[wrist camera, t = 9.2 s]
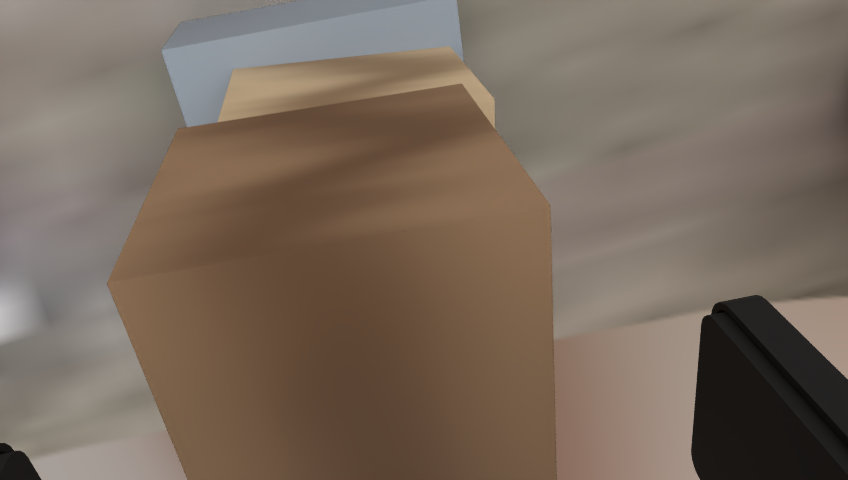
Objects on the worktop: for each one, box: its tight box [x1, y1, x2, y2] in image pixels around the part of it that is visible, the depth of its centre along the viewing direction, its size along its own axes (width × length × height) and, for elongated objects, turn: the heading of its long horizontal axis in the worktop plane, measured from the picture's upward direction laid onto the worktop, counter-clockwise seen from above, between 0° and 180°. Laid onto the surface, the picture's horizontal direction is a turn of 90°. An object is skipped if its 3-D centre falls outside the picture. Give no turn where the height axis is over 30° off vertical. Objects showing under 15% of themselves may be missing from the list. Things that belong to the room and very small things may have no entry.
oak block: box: [218, 46, 495, 128], centre depth 18 cm, size 6×6×5 cm
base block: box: [161, 0, 464, 127], centre depth 22 cm, size 8×8×4 cm
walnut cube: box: [107, 83, 557, 480], centre depth 13 cm, size 6×6×6 cm
